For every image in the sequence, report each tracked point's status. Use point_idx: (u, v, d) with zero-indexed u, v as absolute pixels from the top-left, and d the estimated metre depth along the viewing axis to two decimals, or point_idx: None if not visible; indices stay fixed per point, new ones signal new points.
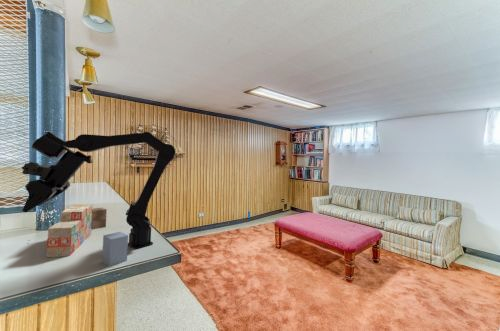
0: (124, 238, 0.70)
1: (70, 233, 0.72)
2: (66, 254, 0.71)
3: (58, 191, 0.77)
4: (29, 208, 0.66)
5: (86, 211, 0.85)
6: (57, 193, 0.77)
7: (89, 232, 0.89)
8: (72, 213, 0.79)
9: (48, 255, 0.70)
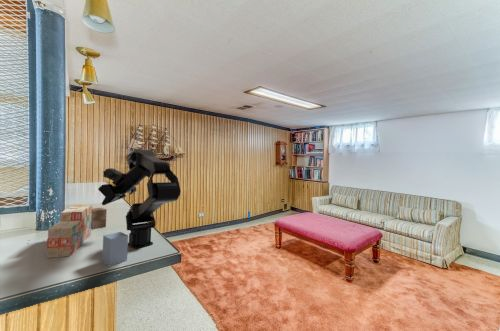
0: (124, 238, 0.70)
1: (70, 233, 0.71)
2: (66, 254, 0.71)
3: (120, 196, 0.88)
4: (105, 203, 0.86)
5: (86, 211, 0.85)
6: None
7: (89, 232, 0.89)
8: (72, 213, 0.79)
9: (48, 255, 0.69)
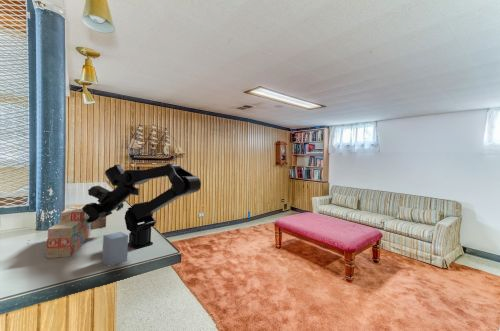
0: (124, 238, 0.70)
1: (70, 233, 0.71)
2: (66, 255, 0.71)
3: (106, 213, 0.87)
4: (91, 221, 0.85)
5: None
6: (105, 215, 0.87)
7: (89, 232, 0.89)
8: (72, 213, 0.79)
9: (48, 256, 0.69)
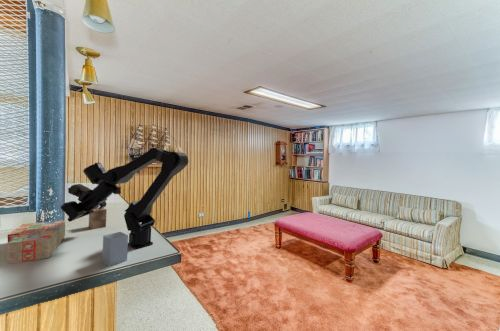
0: (124, 238, 0.70)
1: (16, 242, 0.66)
2: (46, 242, 0.69)
3: (87, 212, 0.87)
4: (71, 219, 0.85)
5: (20, 229, 0.77)
6: (86, 213, 0.87)
7: (58, 222, 0.85)
8: None
9: (45, 256, 0.69)
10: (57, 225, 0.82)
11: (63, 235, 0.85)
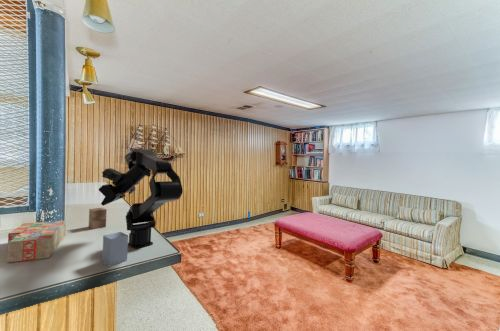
0: (124, 238, 0.70)
1: (17, 242, 0.66)
2: (47, 241, 0.69)
3: (120, 196, 0.87)
4: (105, 203, 0.85)
5: (21, 228, 0.77)
6: (119, 197, 0.87)
7: (59, 222, 0.85)
8: None
9: (45, 256, 0.69)
10: (58, 225, 0.82)
11: (63, 235, 0.85)
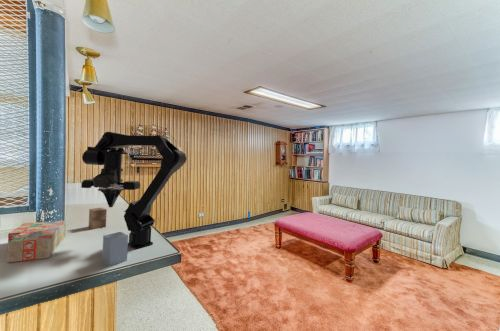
0: (124, 238, 0.70)
1: (17, 242, 0.66)
2: (47, 241, 0.69)
3: (112, 189, 0.87)
4: (114, 202, 0.86)
5: (21, 228, 0.77)
6: None
7: (59, 222, 0.85)
8: None
9: (45, 256, 0.69)
10: (58, 225, 0.82)
11: (63, 235, 0.85)
